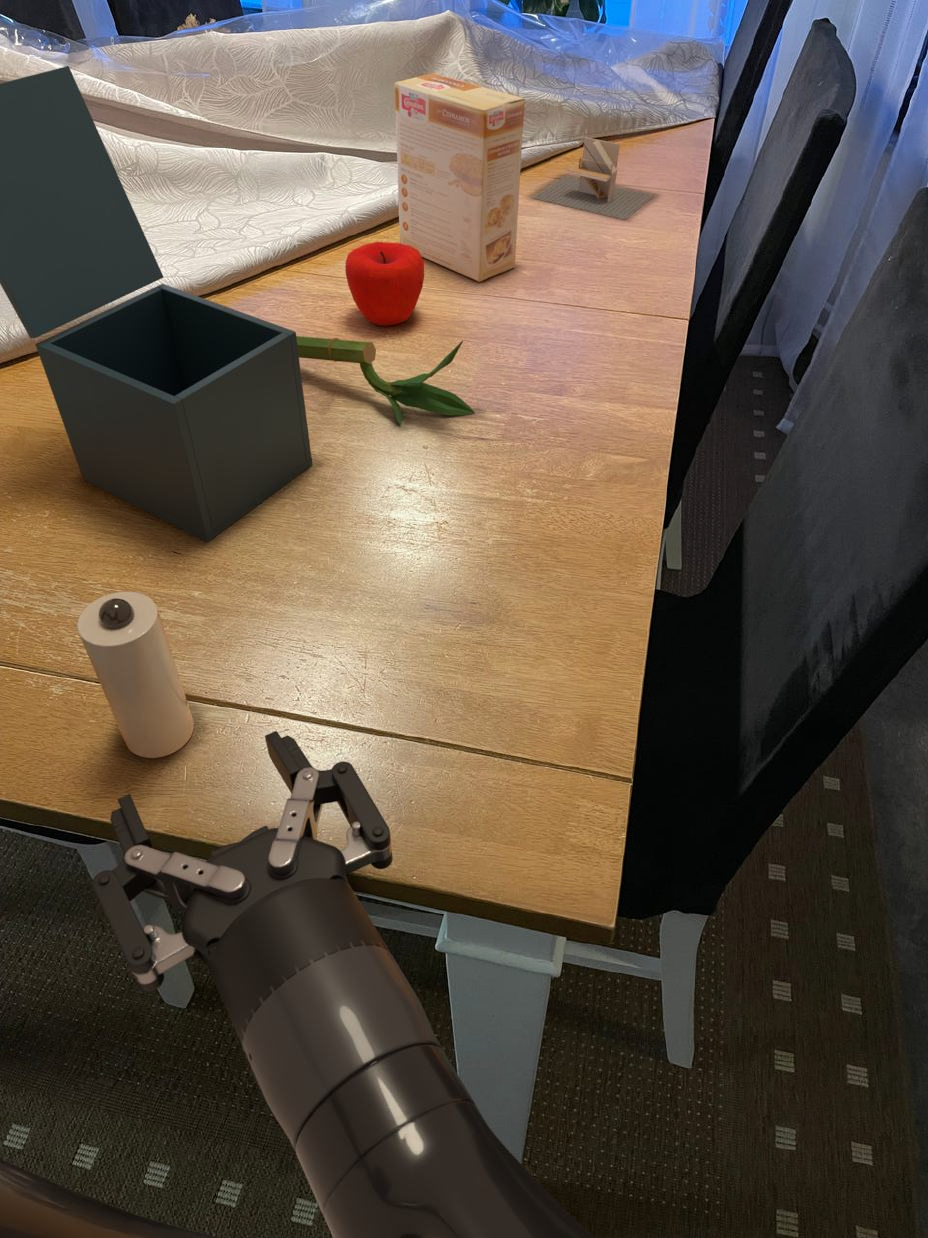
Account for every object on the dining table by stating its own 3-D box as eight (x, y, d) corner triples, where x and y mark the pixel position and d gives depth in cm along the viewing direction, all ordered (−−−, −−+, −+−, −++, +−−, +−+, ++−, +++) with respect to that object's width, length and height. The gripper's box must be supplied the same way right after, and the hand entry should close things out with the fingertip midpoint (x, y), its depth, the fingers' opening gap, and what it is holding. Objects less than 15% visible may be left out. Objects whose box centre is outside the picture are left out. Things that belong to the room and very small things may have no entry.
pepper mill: (119, 761, 58) (63, 634, 49) (129, 707, 61) (78, 579, 53) (190, 755, 58) (147, 628, 50) (197, 702, 62) (157, 574, 53)
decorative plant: (250, 314, 98) (483, 330, 84) (265, 387, 102) (488, 414, 88) (211, 327, 93) (449, 347, 79) (228, 403, 98) (456, 434, 84)
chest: (312, 464, 82) (296, 331, 72) (207, 542, 74) (173, 403, 64) (192, 412, 88) (162, 282, 78) (82, 479, 80) (34, 343, 70)
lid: (68, 65, 69) (63, 67, 69) (-92, 106, 61) (-97, 109, 61) (164, 277, 78) (158, 278, 78) (35, 337, 70) (30, 338, 70)
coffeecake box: (516, 267, 113) (527, 97, 99) (478, 283, 110) (484, 109, 96) (435, 233, 120) (435, 70, 107) (397, 247, 117) (392, 80, 103)
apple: (401, 293, 107) (399, 228, 102) (439, 323, 102) (439, 256, 96) (336, 311, 104) (330, 244, 98) (371, 342, 98) (367, 273, 93)
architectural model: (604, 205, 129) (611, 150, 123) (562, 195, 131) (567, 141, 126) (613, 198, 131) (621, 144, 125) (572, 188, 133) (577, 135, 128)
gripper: (457, 888, 40) (308, 678, 50) (149, 1062, 34) (51, 784, 45) (459, 970, 45) (322, 763, 55) (189, 1135, 39) (93, 869, 49)
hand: (201, 773), depth 50 cm, fingers open, 8 cm apart
